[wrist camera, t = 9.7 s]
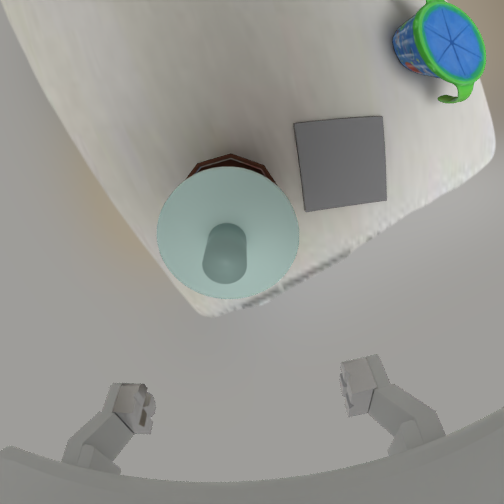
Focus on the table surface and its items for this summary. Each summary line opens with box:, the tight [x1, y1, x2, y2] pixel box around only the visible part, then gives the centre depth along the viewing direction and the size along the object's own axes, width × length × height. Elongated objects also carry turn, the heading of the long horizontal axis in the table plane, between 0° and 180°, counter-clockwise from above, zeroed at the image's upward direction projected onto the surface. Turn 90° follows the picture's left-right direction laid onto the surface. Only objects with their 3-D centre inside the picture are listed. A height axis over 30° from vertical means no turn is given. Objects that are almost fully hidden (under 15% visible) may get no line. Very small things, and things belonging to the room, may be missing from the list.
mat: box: [294, 116, 387, 212], centre depth 38 cm, size 12×12×1 cm
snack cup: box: [392, 0, 486, 103], centre depth 25 cm, size 16×10×10 cm
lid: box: [157, 167, 299, 299], centre depth 24 cm, size 12×12×5 cm
